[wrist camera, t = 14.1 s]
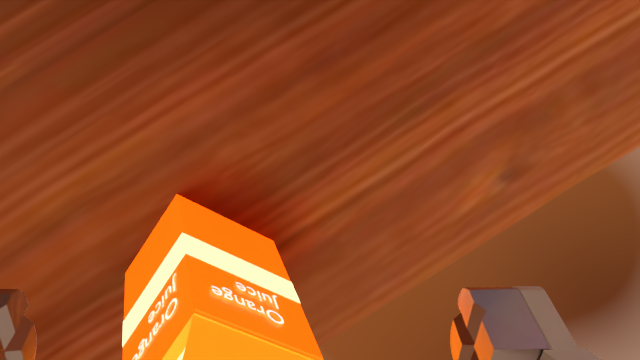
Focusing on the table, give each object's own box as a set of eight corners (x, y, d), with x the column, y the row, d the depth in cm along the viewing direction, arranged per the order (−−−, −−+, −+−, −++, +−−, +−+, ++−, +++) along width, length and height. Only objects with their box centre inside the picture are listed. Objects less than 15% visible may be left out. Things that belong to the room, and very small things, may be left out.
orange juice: (176, 191, 42) (205, 386, 25) (275, 239, 46) (360, 436, 29) (123, 274, 44) (113, 514, 26) (222, 314, 48) (273, 545, 30)
